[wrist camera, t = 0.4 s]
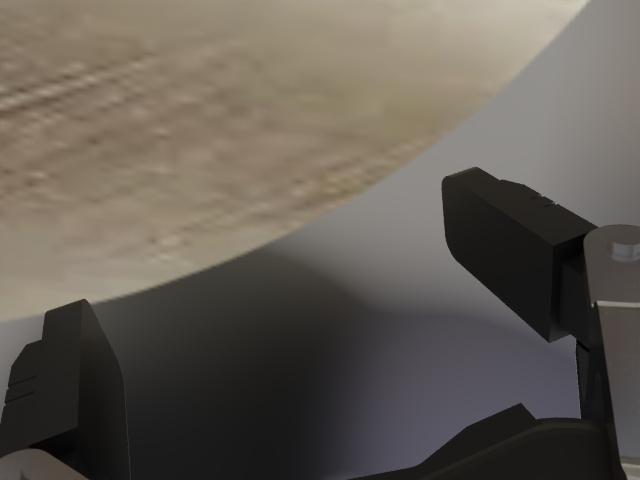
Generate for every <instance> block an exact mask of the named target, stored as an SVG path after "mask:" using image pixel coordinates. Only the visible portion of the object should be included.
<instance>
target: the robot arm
mask: <svg viewBox="0 0 640 480" xmlns="http://www.w3.org/2000/svg"><path fill="white" fill-rule="evenodd" d="M442 200H443V214H444V226H445V238H446V242H447V245H448V248H449V250H450V252H451V254H452V255H453V257H454V258H455V259H456V261H457V262H459V263H460V264H461V265H462V266H463V267H464V268H465V269H466V270H468V271H469V272H470V273H471V274H472V275H473V276H474V277H475V278H477V279H478V280H479V281H480V282H481V283H482V284H483V285H484V286H486V287H487V288H488V289H489V290H490V291H491V292H492V293H493V294H495V295H496V296H497V297H498V298H499V299H500V300H501V301H502V302H503V303H505V304H506V305H507V306H508V307H509V308H510V309H511V310H512V311H514V312H515V313H516V314H517V315H518V316H519V317H520V318H521V319H523V320H524V321H525V322H526V323H527V324H528V325H529V326H530V327H532V328H533V329H534V330H535V331H536V332H537V333H538V334H540V335H541V336H542V337H543V338H544V339H545V340H546V341H547V342H548V343H551V342H553V341H556V340H558V339H560V338H563V337H565V336H567V335H570V334H571V335H572V336H574V337H575V338H576V347H575V357H576V368H577V380H578V391H579V404H580V416H581V419H577V418H542V419H535V418H534V417H533V416H532V415H531V414H530V412H529V411H528V410H527V409H526V408H525V407H524V406H523V405H522V404H521V403H519V404H517V405H515V406H512V407H510V408H508V409H506V410H503V411H501V412H499V413H497V414H494V415H492V416H490V417H488V418H485V419H483V420H481V421H479V422H476V423H474V424H472V425H470V426H468V427H466V428H465V429H463V430H462V431H461V432H460V433H458V434H457V435H456V436H455V437H453V438H452V439H451V440H450V441H448V442H447V443H446V444H445V445H444V446H442V447H441V448H440V449H438V450H437V451H436V452H435V453H433V454H432V455H431V456H430V457H429V458H427V459H426V460H425V461H423V462H422V463H421V464H419V465H417V466H415V467H411V468H407V469H401V470H396V471H391V472H385V473H380V474H375V475H370V476H364V477H359V478H353V479H348V480H640V227H639V226H633V225H621V224H619V225H608V226H603V227H600V228H599V227H597V226H595V225H594V224H592V223H590V222H588V221H587V220H585V219H583V218H581V217H580V216H578V215H576V214H574V213H573V212H571V211H569V210H567V209H566V208H564V207H562V206H560V205H559V204H557V205H555V203H554V202H553V201H552V200H550V199H548V198H546V197H542V196H541V194H540V193H538V192H536V191H534V190H532V189H531V188H529V187H527V186H525V185H523V184H519V183H514V182H511V181H506V180H498V179H497V178H495V177H493V176H492V175H490V174H488V173H487V172H485V171H483V170H482V169H480V168H478V167H473V168H470V169H467V170H464V171H461V172H458V173H455V174H452V175H449V176H446V177H445V178H444V179H443V181H442ZM8 387H9V389H8V390H7V393H6V398H5V404H6V406H4V408H3V413H2V418H1V424H0V480H131V479H130V462H129V447H128V432H127V417H126V404H125V403H126V402H125V387H124V379H123V374H122V371H121V367H120V365H119V362H118V359H117V357H116V355H115V353H114V351H113V349H112V347H111V345H110V343H109V341H108V339H107V337H106V335H105V333H104V331H103V329H102V327H101V325H100V323H99V321H98V319H97V317H96V315H95V313H94V311H93V309H92V307H91V305H90V304H89V302H88V301H87V300H86V299H82V300H79V301H76V302H73V303H70V304H67V305H64V306H61V307H58V308H55V309H52V310H49V311H47V312H46V313H45V318H44V326H43V334H42V340H39V341H36V342H33V343H30V344H27V345H26V346H25V347H24V349H23V350H22V352H21V353H20V355H19V356H18V357H17V359H16V360H15V362H14V364H13V365H12V367H11V372H10V377H9V382H8Z"/></svg>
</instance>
